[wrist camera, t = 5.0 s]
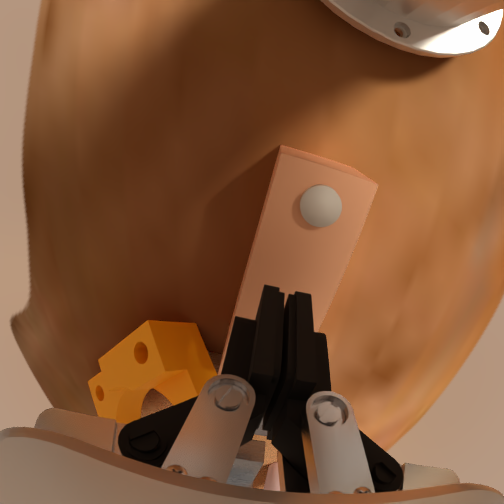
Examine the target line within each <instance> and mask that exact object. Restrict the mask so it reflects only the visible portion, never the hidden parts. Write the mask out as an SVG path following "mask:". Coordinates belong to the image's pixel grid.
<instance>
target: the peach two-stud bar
mask: <svg viewBox="0 0 504 504" xmlns="http://www.w3.org/2000/svg"><path fill="white" fill-rule="evenodd" d="M377 187H378V184H377V183H375V182H374V181H372V180H371V179H369V178H368V177H366V176H365V175H363V174H362V173H360V172H359V171H357V170H356V169H354V168H353V167H350V166H348V165H345V164H342V163H339V162H336V161H333V160H330V159H327V158H324V157H320V156H317V155H314V154H311V153H308V152H304V151H301V150H298V149H294V148H291V147H288V146H284V145H280V149H279V153H278V156H277V160H276V163H275V167H274V170H273V174H272V177H271V181H270V184H269V188H268V191H267V195H266V198H265V202H264V205H263V209H262V213H261V216H260V220H259V223H258V227H257V230H256V234H255V237H254V241H253V244H252V248H251V251H250V255H249V259H248V262H247V266H246V269H245V273H244V276H243V280H242V283H241V287H240V290H239V294H238V298H237V301H236V305H235V308H234V312H233V315H232V319H231V322H230V326H229V330H228V334H227V338H226V343H225V347H224V351H223V355H222V359H221V363H220V367H219V372H218V375H221V372H222V367H223V363H224V359H225V355H226V351H227V347H228V343H229V339H230V335H231V331H232V327H233V323H234V319H235V316H238V317H243V318H248V319H252V320H255V318H256V314H257V310H258V306H259V303H260V299H261V295H262V291H263V287H264V284H266V285H270V286H275V287H279V288H280V292H283V293H285V300H284V307H285V304H286V301H287V298H288V295H289V294H293V295H294V293H295V291H299V292H304V293H308V294H311V296H312V309H313V322H314V332H318V330H319V328H320V326H321V324H322V322H323V320H324V318H325V315H326V313H327V311H328V309H329V307H330V305H331V302H332V300H333V298H334V296H335V293H336V291H337V289H338V287H339V284H340V282H341V280H342V277H343V275H344V273H345V270H346V268H347V266H348V263H349V261H350V258H351V256H352V253H353V251H354V248H355V246H356V244H357V241H358V238H359V236H360V233H361V231H362V228H363V226H364V223H365V220H366V218H367V215H368V212H369V210H370V207H371V204H372V201H373V199H374V196H375V193H376V190H377Z"/></svg>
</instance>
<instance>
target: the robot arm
mask: <svg viewBox="0 0 504 504" xmlns="http://www.w3.org/2000/svg"><path fill="white" fill-rule="evenodd" d="M320 1H321V2H323V3H324V4H325V5H326V6H327V7H328V8H329V9H330V10H331V11H333V12H334V13H335V14H336V15H338V16H339V17H341V18H342V19H343V20H345V21H346V22H348V23H349V24H350V25H352V26H353V27H355V28H356V29H358V30H360V31H362V32H364V33H365V34H367V35H369V36H371V37H372V38H374V39H376V40H378V41H380V42H383V43H385V44H388V45H390V46H392V47H395V48H397V49H399V50H403V51H407V52H410V53H414V54H417V55H420V56H429V57H437V58H446V57H458V56H462V55H465V54H470V53H473V52H475V51H477V50H479V49H481V48H484V47H485V46H486V45H488V44H489V43H490V42H491V41H492V40H493V39H494V37H495V36H496V34H497V32H498V30H499V28H500V25H501V20H502V15H503V9H504V0H320ZM394 30H396V31H397V32H399V34H400V37H399V36H398V35H397V34H396V33H395V31H394ZM284 300H285V293H283V292H280V288H279V287H275V286H270V285H266V284H264V287H263V291H262V295H261V299H260V303H259V306H258V310H257V314H256V318H255V320H252V319H248V318H243V317H238V316H235V319H234V323H233V327H232V331H231V335H230V339H229V343H228V347H227V351H226V355H225V359H224V363H223V367H222V372H221V375H217V376H214V377H212V378H211V379H209V380H208V381H207V382H206V383H205V385H204V386H203V388H202V390H201V392H200V394H199V395H198V396H196V397H193V398H191V399H189V400H186V401H184V402H181V403H179V404H176V405H174V406H171V407H169V408H166V409H164V410H161V411H159V412H156V413H153V414H151V415H148V416H145V417H143V418H140V419H137V420H134V421H132V422H130V423H128V424H124V423H118V422H116V420H115V419H109V418H103V417H97V416H92V415H87V414H82V413H77V412H73V411H68V410H64V409H60V408H50V409H47V410H45V411H44V412H42V413H41V414H40V415H39V417H38V419H37V421H36V424H35V428H29V427H12V428H7V429H4V430H2V431H0V504H504V496H503V494H501V493H500V492H499V491H497V490H496V489H494V488H491V487H489V486H485V485H481V484H474V483H460V482H459V478H458V476H457V475H456V473H455V472H454V471H452V470H449V469H445V468H436V467H428V466H422V465H415V464H409V463H404V464H403V465H400V464H399V463H398V462H397V461H396V460H395V459H394V458H393V457H391V456H390V455H389V454H388V453H386V452H385V451H384V450H383V449H382V448H380V447H379V446H378V445H377V444H376V443H374V442H373V441H372V440H371V439H370V438H369V437H367V436H366V435H365V434H364V433H363V432H362V431H360V430H359V429H358V425H357V422H356V418H355V415H354V411H353V408H352V406H351V404H350V403H349V402H348V401H347V399H346V398H344V397H343V396H341V395H340V394H337V393H335V392H331V381H330V370H329V359H328V349H327V339H326V335H325V334H324V333H318V332H314V322H313V309H312V296H311V294H308V293H304V292H299V291H295V293H294V295H293V294H289V295H288V298H287V301H286V304H285V307H284ZM262 419H263V425H262V430H265V431H267V439H268V440H272V442H271V444H272V445H273V446H274V447H275V448H276V449H277V450H278V451H277V463H278V473H279V484H280V491H273V490H264V489H256V488H249V487H242V486H236V485H230V484H226V482H227V479H228V477H229V474H230V472H231V469H232V466H233V463H234V461H235V458H236V455H237V453H238V450H239V447H241V446H242V445H244V444H246V443H248V442H249V441H251V440H252V438H253V436H254V433H255V431H256V429H258V428H259V425H260V423H261V421H262Z"/></svg>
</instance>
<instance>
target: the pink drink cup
mask: <svg viewBox="0 0 504 504" xmlns="http://www.w3.org/2000/svg"><path fill="white" fill-rule="evenodd" d="M264 490H273V491H280V484H279V473H278V463H277V462H275V463H272V464H271V465H269V467H268V472H267V476H266V481H265V485H264Z"/></svg>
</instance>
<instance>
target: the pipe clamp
mask: <svg viewBox="0 0 504 504" xmlns="http://www.w3.org/2000/svg"><path fill="white" fill-rule="evenodd" d="M98 362H99V365H100V369H101V372H100V373H98V374H97V375H96V376H94V377H93V378H92V379H90V380H89V381H88V385H89V388H90V392H91V395H92V398H93V401H94V405H95V408H96V411H97V414H98V417H103V418H109V419H115V420H116V422H118V423H124V424H128V423H130V422H132V421H134V420H137V419H140V418H141V407H142V403H143V400H144V398H145V396H146V394H147V392H148V391H149V390H150V389H151V388H154V389H155V390H157V391H159V392H160V393H161V394H163V395H164V396H165V397H166V398H167V399H168V400H169V401H170V402H171V403H172V404H173V406H174V405H176V404H179V403H181V402H184V401H186V400H189V399H191V398H193V397H196V396H198V395H199V394H200V392H201V390H202V388H203V386H204V385H205V383H206V382H207V381H208V380H209V379H211V378H212V377H214V376H217V372H216V370H215V368H214V366H213V363H212V361H211V359H210V356H209V354H208V351H207V349H206V347H205V344H204V342H203V339H202V337H201V335H200V332H199V330H198V327H197V325H196V323H186V322H169V321H154V320H147V321H146V322H145V323H143V324H142V325H141V326H140V327H138V328H137V329H136V330H135V331H133V332H132V333H131V334H130V335H128V336H127V337H126V338H125V339H123V340H122V341H121V342H120V343H118V344H117V345H116V346H115V347H113V348H112V349H111V350H110V351H108V352H107V353H106V354H105V355H103V356H102V357H101V358H100V359H98Z"/></svg>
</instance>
